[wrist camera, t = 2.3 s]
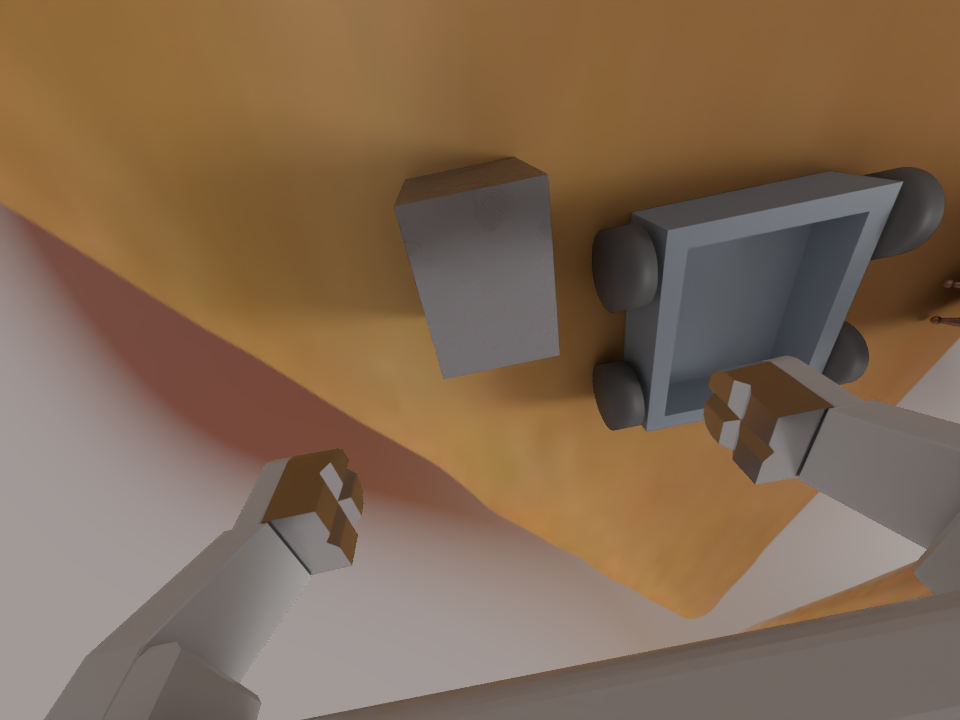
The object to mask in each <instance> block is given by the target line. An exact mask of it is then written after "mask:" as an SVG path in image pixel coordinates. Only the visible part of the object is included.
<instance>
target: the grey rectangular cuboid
mask: <svg viewBox="0 0 960 720" xmlns="http://www.w3.org/2000/svg"><path fill="white" fill-rule="evenodd" d="M394 209H395V213H396V216H397V219H398V223H399V226H400V230H401V233H402V237H403V240H404V244H405V247H406V251H407V254H408V258H409V261H410V264H411V268H412V271H413V275H414V278H415V282H416V285H417V289H418V292H419V296H420V299H421V303H422V306H423V309H424V313H425V316H426V320H427V323H428V327H429V330H430V334H431V337H432V341H433V344H434V348H435V351H436V354H437V358H438V361H439V365H440V368H441V372H442V375H443V379H447V378H451V377H456V376H461V375H466V374H471V373H476V372H481V371H486V370H491V369H495V368H500V367H505V366H510V365H515V364H520V363H525V362H530V361H535V360H539V359H544V358H549V357H554V356H559V355H560V352H559V337H558V321H557V306H556V290H555V275H554V260H553V244H552V229H551V213H550V198H549V182H548V174H546V173H544V172H542V171H541V170H539V169H537V168H535V167H533V166H531V165H529V164H527V163H525V162H523V161H522V160H520V159H518V158H516V157H510V158H506V159H501V160H496V161H491V162H487V163H482V164H477V165H472V166H468V167H463V168H458V169H453V170H449V171H444V172H439V173H434V174H430V175H425V176H420V177H415V178H411V179H406V180H405V182H404V184H403V186H402V189H401V191H400V193H399V196H398V198H397V200H396V203H395V205H394Z"/></svg>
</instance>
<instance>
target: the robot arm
mask: <svg viewBox="0 0 960 720" xmlns="http://www.w3.org/2000/svg"><path fill="white" fill-rule="evenodd" d="M708 387H709V388H710V389H711V391H712V392H713V394H712V395H711V396H710V398H709V399H708V400H707V401H706V402H705V406H704V413H703V415H704V419H705V423H706V427H707V428H708V430H709V432H710V434H711V435H712V437H713V438H714V439H715V440H716V441H717V442H718V444H720V445H723V446H725V447H727V448H729V449H732V450H733V460H734V462H735V463H736V464H737V465H738V466H739V467H740V468H741V469H742V470H743V472H744V473H745V474H746V475H747V476H748V477H749V478H750V479H751V480H752V482H753V483H754V484H755V485H756V484H761V483H767V482H773V481H779V480H785V479H790V478H796V477H799V478H798V480H800V481H802V482H804V483H806V484H807V485H809V486H811V487H813V488H815V489H817V490H818V491H820V492H822V493H824V494H826V495H828V496H830V497H832V498H833V499H835V500H837V501H839V502H841V503H843V504H844V505H846V506H848V507H850V508H852V509H854V510H856V511H857V512H859V513H861V514H863V515H865V516H867V517H868V518H870V519H872V520H874V521H876V522H878V523H879V524H881V525H883V526H885V527H887V528H889V529H891V530H892V531H894V532H896V533H898V534H900V535H902V536H904V537H905V538H907V539H909V540H911V541H913V542H915V543H916V544H918V545H920V546H922V547H924V548H926V549H927V550H926V551H925V553H924V554H923V555H922V556H921V557H920V558H919V560H918V561H917V562H916V563H915V564H914V565H913V574H914V575H915V576H916V577H917V578H918V579H919V580H920V581H921V582H922V583H923V584H924V585H926V586H927V587H928V588H929V589H930V590H931V591H932V592H933V593H934V594H935V595H932V596H927V597H922V598H917V599H911V600H906V601H901V602H896V603H891V604H886V605H881V606H876V607H871V608H866V609H861V610H856V611H851V612H846V613H840V614H835V615H830V616H825V617H820V618H815V619H810V620H805V621H800V622H795V623H790V624H785V625H780V626H775V627H769V628H764V629H759V630H754V631H749V632H744V633H739V634H734V635H729V636H724V637H719V638H714V639H709V640H703V641H698V642H693V643H688V644H684V645H678V646H673V647H668V648H663V649H658V650H653V651H648V652H643V653H638V654H632V655H628V656H622V657H617V658H612V659H607V660H602V661H597V662H592V663H587V664H582V665H577V666H572V667H567V668H562V669H556V670H551V671H546V672H541V673H537V674H531V675H526V676H521V677H516V678H511V679H506V680H501V681H496V682H491V683H485V684H481V685H475V686H470V687H465V688H460V689H456V690H450V691H445V692H440V693H435V694H430V695H425V696H420V697H415V698H410V699H404V700H399V701H394V702H389V703H385V704H379V705H374V706H369V707H364V708H359V709H354V710H349V711H344V712H339V713H334V714H328V715H323V716H319V717H314V718H309V719H303V720H960V424H958V423H954V422H951V421H947V420H944V419H939V418H936V417H933V416H929V415H925V414H921V413H918V412H914V411H911V410H907V409H904V408H900V407H896V406H893V405H889V404H886V403H882V402H878V401H875V400H871V401H863V400H862V399H860V398H859V397H857V396H855V395H854V394H852V393H851V392H849V391H848V390H846V389H844V388H843V387H841V386H840V385H838V384H837V383H835V382H834V381H832V380H830V379H829V378H827V377H826V376H824V375H823V374H821V373H819V372H818V371H816V370H815V369H813V368H812V367H810V366H808V365H807V364H805V363H804V362H802V361H801V360H799V359H798V358H795V357H791V356H787V355H786V356H782V357H777V358H773V359H768V360H764V361H761V362H756V363H752V364H747V365H742V366H737V367H733V368H728V369H723V370H718V371H715V372H714V373H713V374H712V376H711V377H710V381H709V385H708ZM348 462H349V459H348V457H347V456H346V454H345V453H344V451H343V449H338V448H337V449H331V450H326V451H320V452H314V453H309V454H303V455H298V456H293V457H290V458H284V459H278V460H273V461H270V462H269V463H268V464H266V465H265V466H264V468H263V470H262V472H261V474H260V476H259V478H258V480H257V482H256V484H255V485H254V488H253V489H252V492H251V493H250V495H249V497H248V500H247V501H246V503H245V505H244V507H243V509H242V511H241V513H240V515H239V517H238V519H237V521H236V523H235V525H234V527H233V529H232V530H229V531H225V532H223V533H222V534H221V535H220V536H219V537H218V538H217V539H215V540H214V541H213V542H212V543H211V544H210V545H209V546H208V547H207V548H206V549H204V550H203V551H202V552H201V553H200V554H199V555H198V556H197V557H196V558H194V559H193V560H192V561H191V562H190V563H189V564H188V565H187V566H186V567H184V568H183V569H182V570H181V571H180V572H179V573H178V574H177V575H176V576H174V577H173V578H172V579H171V580H170V581H169V582H168V583H167V584H166V585H164V586H163V587H162V588H161V589H160V590H159V591H158V592H157V593H156V594H155V595H153V596H152V597H151V598H150V599H149V600H148V601H147V602H146V603H145V604H143V605H142V606H141V607H140V608H139V609H138V610H137V611H136V612H135V613H133V614H132V615H131V616H130V617H129V618H128V619H127V620H126V621H125V622H124V623H122V624H121V625H120V626H119V627H118V628H117V629H116V630H115V631H114V632H113V633H112V634H110V635H109V636H108V637H107V638H106V639H105V640H104V641H103V642H101V643H100V644H99V645H98V646H97V647H96V648H95V649H94V650H93V651H91V652H90V654H88V655H87V656H86V657H85V658H84V660H83V661H82V663H81V664H80V666H79V667H78V669H77V670H76V672H75V674H74V675H73V677H72V678H71V680H70V681H69V683H68V684H67V686H66V687H65V689H64V690H63V692H62V693H61V695H60V696H59V698H58V699H57V701H56V702H55V704H54V705H53V707H52V708H51V710H50V711H49V713H48V714H47V716H46V717H45V719H44V720H257V717H258V713H259V710H260V706H261V702H260V700H259V697H258V696H257V695H256V694H254V693H253V692H251V691H250V690H248V689H247V688H245V687H244V686H242V685H241V684H240V683H239V682H240V681H241V679H242V678H243V677H244V675H245V674H246V672H247V671H248V669H249V668H250V666H251V665H252V664H253V662H254V661H255V659H256V658H257V656H258V655H259V653H260V652H261V650H262V649H263V648H264V646H265V645H266V643H267V642H268V640H269V639H270V637H271V636H272V634H273V633H274V632H275V630H276V629H277V627H278V626H279V624H280V623H281V621H282V620H283V618H284V617H285V616H286V614H287V613H288V611H289V610H290V608H291V607H292V605H293V604H294V603H295V601H296V600H297V598H298V597H299V595H300V594H301V592H302V591H303V589H304V588H305V587H306V585H307V584H308V582H309V581H310V579H311V578H312V577H311V575H313V574H317V573H322V572H326V571H331V570H335V569H339V568H344V567H348V566H352V563H353V558H354V553H355V547H356V542H357V537H358V534H357V533H356V531H355V529H354V528H353V526H354V525H355V523H356V522H357V521H358V520H359V518H360V517H361V516H362V510H363V504H364V503H363V489H362V486H361V482H360V480H359V478H358V476H357V474H356V473H355V472H353V471H351V470H349V469H347V466H348Z"/></svg>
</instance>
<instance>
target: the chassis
mask: <svg viewBox="0 0 960 720" xmlns="http://www.w3.org/2000/svg"><path fill="white" fill-rule="evenodd" d="M944 208H945V197H944V192H943V189H942V187H941V185H940V183H939V182H938V181H937V179H936V178H935V177H934V176H932V175H931V174H930V173H928V172H926V171H924V170H921V169H918V168H913V167H903V168H896V169H891V170H887V171H882V172H877V173H872V174H867V175H863V176H861V175H854V174H847V173H840V172H833V171H827V172H822V173H818V174H813V175H808V176H803V177H798V178H794V179H789V180H784V181H779V182H774V183H770V184H765V185H760V186H755V187H750V188H746V189H741V190H736V191H731V192H726V193H722V194H717V195H712V196H707V197H702V198H698V199H693V200H688V201H683V202H678V203H674V204H669V205H664V206H659V207H654V208H650V209H645V210H640V211H635V212H631V224H627V225H622V226H618V227H613V228H608V229H603V230H600V231H599V232H598V233H597V235H596V237H595V239H594V243H593V249H592V269H593V277H594V282H595V286H596V290H597V293H598V296H599V298H600V301H601V302H602V304H603V306H604V307H605V309H606V310H607V311H609V312H610V313H617V312H622V311H626V323H625V343H624V360H620V361H615V362H610V363H605V364H600V365H596V366H595V367H594V370H593V388H594V394H595V399H596V402H597V406H598V409H599V412H600V414H601V416H602V419H603V420H604V422H605V424H606V425H607V427H608V428H609V429H610V430H613V431H614V430H619V429H624V428H628V427H633V426H638V425H642V426H643V428H644V429H645V431H646V432H648V431H653V430H658V429H663V428H668V427H673V426H678V425H683V424H688V423H693V422H698V421H702V420H705V419H704V415H703V413H704V406H705V402H706V401H707V400H708V399H709V398H710V396H711V395H712V394H713V392H712V391H711V389H710V388H709V387H708V385H709V381H710V377H711V376H712V374H713V373H714V372H715V371H718V370H723V369H728V368H733V367H737V366H742V365H747V364H752V363H756V362H761V361H764V360H768V359H773V358H777V357H782V356H786V355H787V356H791V357H795V358H798V359H799V360H801V361H802V362H804V363H805V364H807V365H808V366H810V367H812V368H813V369H815V370H816V371H818V372H819V373H821V374H823V375H824V376H826V377H827V378H829V379H830V380H832V381H834V382H835V383H837V384H838V385H841V384H845V383H850V382H853V381H855V380H857V379H858V378H860V377H861V376H862V375H863V374H864V372H865V370H866V368H867V366H868V361H869V352H868V347H867V345H866V342H865V340H864V338H863V337H862V335H861V334H860V332H859V331H858V330H857V329H856V328H855V327H853V326H852V325H851V324H849V323H847V322H846V321H844V320H845V318H846V315H847V313H848V311H849V308H850V306H851V304H852V301H853V299H854V297H855V294H856V292H857V289H858V287H859V285H860V282H861V280H862V278H863V275H864V273H865V271H866V268H867V266H868V264H869V261H870V260H875V259H879V258H884V257H889V256H894V255H899V254H903V253H906V252H909V251H911V250H913V249H915V248H917V247H918V246H920V245H921V244H923V243H924V242H925V241H926V240H927V239H928V238H929V237H930V236H931V235H932V234H933V233H934V232H935V230H936V229H937V227H938V225H939V224H940V222H941V219H942V217H943V213H944Z"/></svg>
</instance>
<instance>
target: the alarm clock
mask: <svg viewBox="0 0 960 720" xmlns="http://www.w3.org/2000/svg"><path fill="white" fill-rule="evenodd" d="M943 286H944V287H946V288H951V287H956V288H960V282H955V281H953V280H947V281H945V282H944V284H943ZM930 322H931V323H933V324H939V323H943V324H948V325H954V326H959V327H960V318H941V317H939V316H935V317H932V318H931V319H930Z"/></svg>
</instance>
